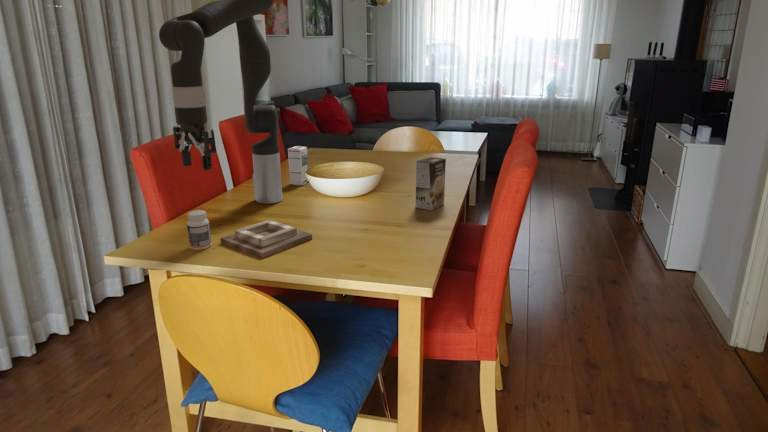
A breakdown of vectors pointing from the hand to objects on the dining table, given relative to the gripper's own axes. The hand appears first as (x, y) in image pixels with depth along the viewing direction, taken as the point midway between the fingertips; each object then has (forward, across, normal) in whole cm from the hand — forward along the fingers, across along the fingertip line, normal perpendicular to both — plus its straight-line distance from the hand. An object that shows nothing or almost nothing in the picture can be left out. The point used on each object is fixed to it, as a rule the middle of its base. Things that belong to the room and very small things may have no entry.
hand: (197, 167), depth 138 cm
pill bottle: (+22, +2, +1) cm, 23 cm away
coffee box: (+22, -30, -68) cm, 78 cm away
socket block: (+22, -10, -13) cm, 28 cm away
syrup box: (+22, +28, -64) cm, 74 cm away
